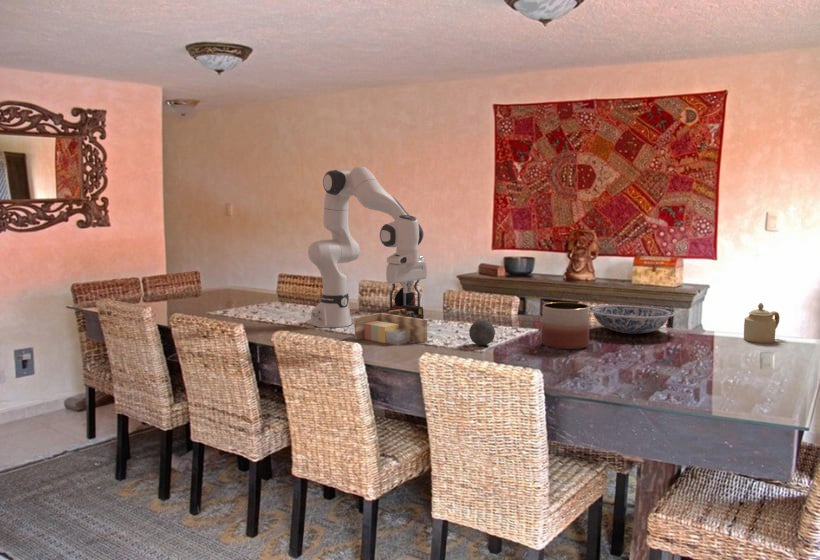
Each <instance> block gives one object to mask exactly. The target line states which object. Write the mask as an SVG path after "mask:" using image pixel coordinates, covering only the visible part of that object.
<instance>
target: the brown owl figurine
mask: <svg viewBox="0 0 820 560" xmlns="http://www.w3.org/2000/svg"><path fill="white" fill-rule="evenodd" d="M382 313H385V314H391V315H398V316H405V317H411V318H418V319H424V320H425V318H424V315H425V314H424V308H423V306H421V305H420V306H418V305H416V306H410V305H403V306H402V309H398V310H397V309H394V308H390V310H387V311H383V312H382Z"/></svg>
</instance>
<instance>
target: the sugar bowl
mask: <svg viewBox="0 0 820 560" xmlns="http://www.w3.org/2000/svg"><path fill="white" fill-rule="evenodd" d="M757 308H758V309H753V310H751V311H750V312H748V314H749V315H748V316H747V317H745V318H744V320H743V321H744V322H743V323H744V324H743V340H744V341H747V342H750V343H751V342H752V343H757V344H758V343H759V344H772V343H775V341H776V340H775V339H776V329H777V328H778V326H779V323H780V313H778V312H777V311H775V310H774V311H769V310H765V309H764V304H763V303H762V302H760V303H759V304H758V305H757Z"/></svg>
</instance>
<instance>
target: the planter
mask: <svg viewBox="0 0 820 560" xmlns="http://www.w3.org/2000/svg"><path fill="white" fill-rule="evenodd" d="M589 308H590V305H588V304H585V303H580V302H573V301H569V302H568V301H557V302H556V301H555V302H552V301H551V302H546V303H543V304H542V319H541V320H542V322H541V323H542V324H541V343H542V345H544V346H545V347H548V348H551V349H553V350H554V349H555V350H565V351H572V350H573V351H574V350H575V351H576V350H581V349H585V348H586V347H588V346H589V343H590V311H589Z"/></svg>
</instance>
